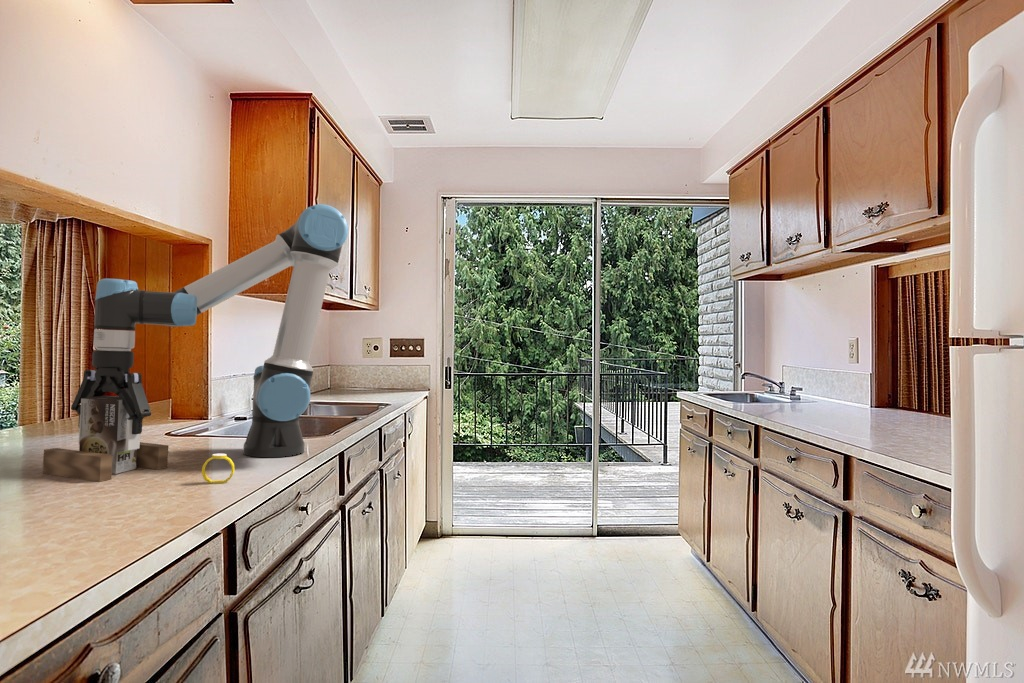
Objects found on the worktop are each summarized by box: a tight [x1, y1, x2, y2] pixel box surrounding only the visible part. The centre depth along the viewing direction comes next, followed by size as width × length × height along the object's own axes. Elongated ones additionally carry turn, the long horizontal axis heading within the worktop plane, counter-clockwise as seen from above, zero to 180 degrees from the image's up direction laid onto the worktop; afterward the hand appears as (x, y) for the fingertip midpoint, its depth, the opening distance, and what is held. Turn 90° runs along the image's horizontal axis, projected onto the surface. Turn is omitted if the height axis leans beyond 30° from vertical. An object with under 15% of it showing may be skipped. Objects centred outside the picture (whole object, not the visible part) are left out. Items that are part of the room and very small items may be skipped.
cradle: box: [42, 441, 169, 483], centre depth 128 cm, size 16×16×5 cm
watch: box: [201, 452, 236, 484], centre depth 122 cm, size 6×3×6 cm, turn 106°
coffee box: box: [78, 395, 137, 475], centre depth 128 cm, size 9×6×16 cm
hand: (108, 446), depth 128 cm, fingers open, 13 cm apart
